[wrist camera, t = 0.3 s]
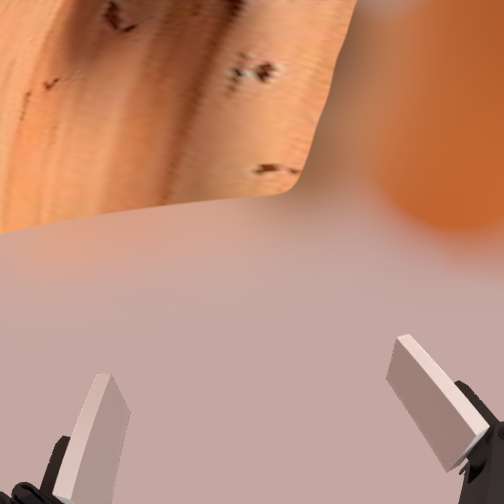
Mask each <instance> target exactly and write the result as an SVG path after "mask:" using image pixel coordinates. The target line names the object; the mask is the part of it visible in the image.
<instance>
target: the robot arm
mask: <svg viewBox="0 0 504 504" xmlns="http://www.w3.org/2000/svg"><path fill="white" fill-rule="evenodd" d="M386 380H387V381H388V382H389V384H390V386H391V387H392V389H393V390H394V392H395V393H396V394H397V396H398V397H399V399H400V400H401V402H402V403H403V405H404V406H405V408H406V409H407V411H408V413H409V414H410V415H411V417H412V418H413V420H414V422H415V423H416V425H417V426H418V428H419V429H420V431H421V432H422V434H423V436H424V437H425V439H426V440H427V442H428V443H429V445H430V447H431V448H432V449H433V451H434V453H435V455H436V456H437V458H438V459H439V461H440V462H441V464H442V466H443V467H444V469H445V471H446V472H449V471H450V470H452V469H453V468H455V467H457V466H459V465H460V464H461V463H462V462H463V461H464V459H465V458H466V457H467V459H468V460H469V461H468V462H467V463H466V465H465V466H464V467H463V468H462V469H461V470H460V472H459V475H461V474H462V473H463V472H464V470H466V471H465V473H464V475H465V476H464V482H463V486H462V491H461V495H460V499H459V503H458V504H504V422H499V420H498V419H496V417H495V416H494V415H493V414H492V412H491V411H490V410H489V409H488V408H487V407H486V405H485V404H484V403H483V402H482V401H481V400H479V397H478V396H477V395H476V394H474V392H473V391H472V389H471V388H469V386H468V385H466V384H464V383H463V382H461V381H456V382H454V383H453V382H452V381H451V379H450V378H449V377H448V376H447V375H446V374H445V373H444V372H443V370H442V369H441V368H440V367H439V366H438V365H437V364H436V363H435V362H434V360H433V359H432V358H431V357H430V356H429V355H428V354H427V353H426V352H425V351H424V349H422V347H421V346H420V345H419V344H418V343H417V342H416V341H415V340H414V339H413V338H412V337H411V336H410V334H407V335H404V336H400V337H397V338H396V341H395V345H394V350H393V354H392V358H391V362H390V366H389V369H388V373H387V377H386ZM129 417H130V411H129V409H128V407H127V405H126V403H125V401H124V399H123V397H122V395H121V393H120V391H119V389H118V387H117V385H116V383H115V380H114V378H113V376H112V374H108V373H97V375H96V377H95V379H94V382H93V383H92V386H91V388H90V391H89V393H88V395H87V398H86V400H85V402H84V405H83V407H82V410H81V412H80V415H79V417H78V420H77V423H76V425H75V428H74V431H73V433H72V436H71V437H67V436H62V438H60V440H59V441H58V442H57V443H56V444H55V447H54V450H53V452H52V455H51V458H50V460H49V462H50V463H48V466H47V469H46V472H45V475H44V478H43V481H42V484H41V487H40V489H39V490H38V489H37V488H36V487H35V486H33V485H32V484H30V483H28V482H21V483H19V484H17V485H15V487H14V488H13V490H12V494H11V495H12V498H10V497H9V496H8V495H6V494H5V493H3V492H0V504H111V503H112V497H113V491H114V486H115V481H116V475H117V470H118V465H119V461H120V455H121V451H122V447H123V442H124V437H125V433H126V429H127V425H128V421H129Z"/></svg>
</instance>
